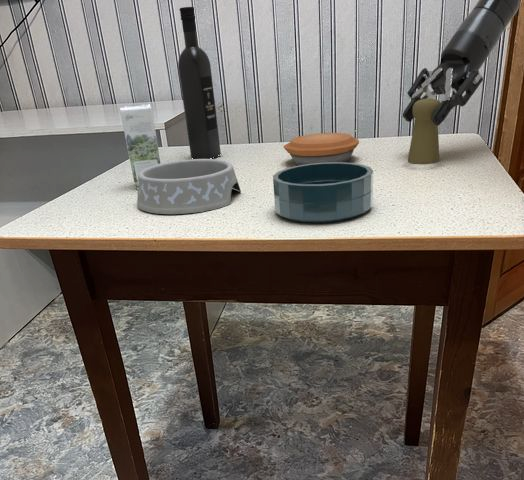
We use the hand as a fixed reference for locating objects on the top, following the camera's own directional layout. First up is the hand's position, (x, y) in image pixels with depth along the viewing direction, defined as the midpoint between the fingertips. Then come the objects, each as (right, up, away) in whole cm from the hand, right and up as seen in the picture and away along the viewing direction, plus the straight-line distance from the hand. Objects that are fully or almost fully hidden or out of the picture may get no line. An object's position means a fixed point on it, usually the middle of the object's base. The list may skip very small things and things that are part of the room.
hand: (420, 120), depth 101 cm
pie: (-17, -4, +12) cm, 21 cm away
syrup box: (-52, -11, +5) cm, 53 cm away
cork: (+2, -6, +4) cm, 8 cm away
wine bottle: (-43, +2, +26) cm, 50 cm away
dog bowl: (-42, -17, -7) cm, 46 cm away
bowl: (-20, -22, -19) cm, 35 cm away
